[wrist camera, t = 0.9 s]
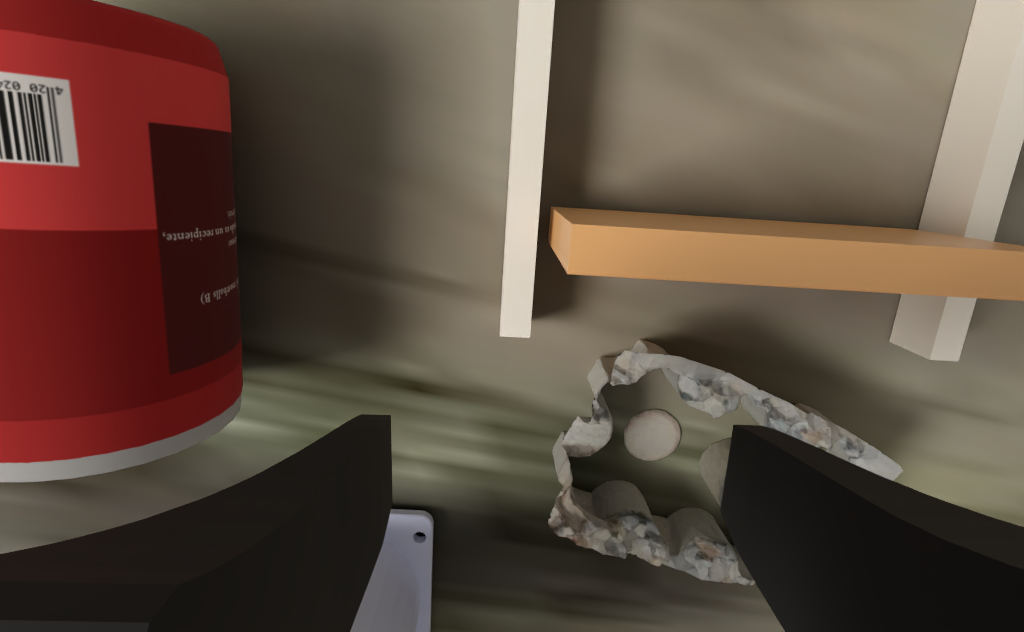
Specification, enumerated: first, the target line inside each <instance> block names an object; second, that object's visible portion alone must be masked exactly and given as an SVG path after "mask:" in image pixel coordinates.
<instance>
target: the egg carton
mask: <svg viewBox="0 0 1024 632" xmlns="http://www.w3.org/2000/svg"><path fill="white" fill-rule="evenodd" d="M659 368H662V371H663V373H664V375H665V376H666V378H667V379H668V381H669V382H670V383H671V385H672V386H673V387H674V388H675V390H676V391H677V392H678V394H679V395H680V397H681V398H682V399H683V400H684V401H685V402H686V403H687V404H688V405H689V406H691V407H692V408H695V409H698V410H701V411H704V412H707V413H708V414H710V415H711V416H712V417H713V418H714V419H716V418H719V417H721V416H722V415H723V414H725V413H727V412H731V411H734V410H735V409H737V407H738V403H739V398H740V399H741V403H742V406H743V407H744V409H745V410H746V411H747V412H748V413H749V414H750V415H751V416H752V417H753V418H754V419H755V420H756V421H757V422H758V423H759V424H760V425H761V426H765V427H769V428H772V429H775V430H778V431H780V432H783V433H785V434H788V435H790V436H793V437H795V438H797V439H800V440H802V441H804V442H806V443H808V444H811V445H813V446H815V447H817V448H818V447H819V446H822V447H824V448H827V449H826V452H828V453H831V454H833V455H835V456H837V457H839V458H842V459H844V460H846V461H848V462H850V463H853V464H855V465H857V466H859V467H862V468H864V469H866V470H868V471H871V472H873V473H875V474H878V475H880V476H882V477H885V478H887V479H889V480H892V481H893V480H894V479H896V478H897V477H898V476H899V475H900V474H901V473H902V472H903V470H902V468H901V467H900V465H898V464H897V463H896V462H894V461H893V460H891V459H890V458H889V457H887V456H886V455H885V454H883V453H882V452H880V451H879V450H878V449H876V448H874V447H873V446H871V445H870V444H868V443H867V442H865V441H863V440H861V439H860V438H858V437H856V436H855V435H853V434H852V433H850V432H848V431H847V430H845V429H843V428H842V427H840V426H838V425H836V424H834V423H832V422H831V421H830V420H829V419H828V418H826V417H825V416H824V415H822V414H821V413H820V412H819V411H817V410H816V409H813V408H811V407H809V406H806V405H803V404H800V403H797V404H796V405H792V404H790V403H789V402H787V401H785V400H783V399H780V398H778V397H776V396H773V395H771V394H769V393H767V392H765V391H763V390H761V389H759V388H757V387H755V386H753V385H751V384H749V383H747V382H745V381H743V380H742V379H740V378H738V377H736V376H734V375H732V374H730V373H728V372H725V371H722V370H719V369H716V368H713V367H710V366H707V365H704V364H701V363H698V362H695V361H692V360H689V359H686V358H683V357H679V356H672V355H668V354H667V353H666V352H665V350H664V349H663V348H662V347H660V346H658V345H656V344H654V343H651V342H648V341H645V340H638V341H637V342H636V344H635V345H634V347H633V348H632V349H631V350H629V351H625V350H624V351H623V352H622V353H621V354H620V355H619V356H616V357H600V358H599V359H597V361H596V362H595V364H594V366H593V368H592V370H591V371H590V372H589V374H588V381H589V383H590V385H591V388H592V392H593V393H594V396H595V398H594V401H593V404H592V412H593V415H592V418H590V417H580V416H577V419H576V420H575V421H574V422H573V424H572V426H571V428H570V429H569V431H568V432H566V431H562V433H561V434H560V436H559V438H558V440H557V442H556V444H555V445H554V447H553V450H552V452H553V458H554V463H555V470H556V473H557V476H558V481H559V482H560V483H561V484H562V485H563V488H562V490H561V492H560V493H559V495H558V497H556V498H555V503H554V507H553V509H552V512H551V514H550V517H549V519H548V523H549V526H550V527H551V528H552V529H554V533H556V534H557V535H558V536H560V537H567V538H570V539H571V540H572V541H573V542H574V543H575V544H576V545H579V546H582V547H584V548H592V549H594V550H596V551H598V552H600V553H601V554H603V555H610V556H616V557H621V558H623V559H625V558H626V556H627V554H628V553H631V554H633V555H635V556H637V557H639V558H641V559H644V560H645V561H647V562H649V563H650V564H653V565H655V566H658V567H659V566H660V565H662V564H663V565H666V566H669V567H672V568H674V569H678V570H681V571H685V572H687V573H689V574H691V575H693V576H695V577H697V578H699V579H701V580H708V581H715V582H722V583H740V584H743V585H746V586H751V585H753V584H755V581H754V579H753V577H752V576H751V574H750V572H749V571H748V569H747V567H746V566H745V564H744V562H743V560H742V559H741V557H740V555H739V554H738V552H737V549H736V547H735V546H734V545H730V543H729V542H728V540H727V539H726V537H725V535H724V534H723V532H722V531H721V529H720V528H719V526H718V524H717V523H716V521H715V519H714V517H713V516H712V515H711V514H709V513H708V512H707V511H706V510H704V509H701V508H697V507H687V508H681V509H679V510H677V511H676V512H674V513H672V514H671V515H670V516H669V517H668V518H664V517H660V516H654V515H651V513H650V511H649V508H648V505H647V503H646V501H645V499H644V497H643V495H642V494H641V492H640V491H639V489H638V488H637V487H636V486H635V485H634V484H632V483H630V482H627V481H623V480H612V481H607V482H605V483H603V484H601V485H600V486H598V487H596V488H595V489H594V490H593V491H592V492H591V493H589V492H586V491H582V490H579V489H577V488H574V487H573V486H572V480H573V478H572V472H571V466H570V462H569V459H568V457H569V456H573V457H586V456H591V455H592V454H594V453H596V452H597V451H599V450H600V449H601V448H602V447H604V446H605V445H606V444H607V443H608V441H609V440H610V438H611V435H612V431H613V419H612V417H611V414H610V412H609V409H608V406H607V404H606V402H605V400H604V398H603V396H602V394H601V392H600V390H601V389H602V387H603V386H604V385H605V384H606V383H610V384H611V385H612V386H615V385H617V384H626V385H629V384H632V383H636V382H637V381H638V379H639V378H640V377H641V376H643V375H645V374H647V373H648V372H650V371H652V370H654V369H659ZM623 434H624V445H625V446H626V448H627V449H628V451H629V453H630V454H632V455H633V456H635V457H636V458H638V459H643V460H644V461H648V460H649V461H655V460H660V459H662V458H665V457H667V456H668V455H669V454H671V453H672V452H673V451H674V450H675V449H676V448H677V446H678V444H679V441H680V427H679V425H678V422H677V421H676V419H675V418H674V417H673V416H672V415H670V414H669V413H667V412H666V411H663V410H659V409H649V410H645V411H642V412H640V413H638V414H636V415H634V416H633V417H632V418H631V419H630V420H629V421H628V423H627V424H626V426H625V429H624V433H623ZM730 444H731V438H728V439H723V440H720V441H718V442H715V443H713V444H711V445H710V446H709V447H708V448H707V449H706V450H705V451H704V452H703V454H702V456H701V458H700V463H699V470H700V474H701V476H702V478H703V479H704V481H705V483H706V484H707V486H708V488H709V489H710V491H711V493H712V494H713V496H714V497H715V499H716V501H717V502H718V504H719V505H720V507H721V501H722V495H723V489H724V482H725V476H726V470H727V463H728V457H729V451H730Z"/></svg>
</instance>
